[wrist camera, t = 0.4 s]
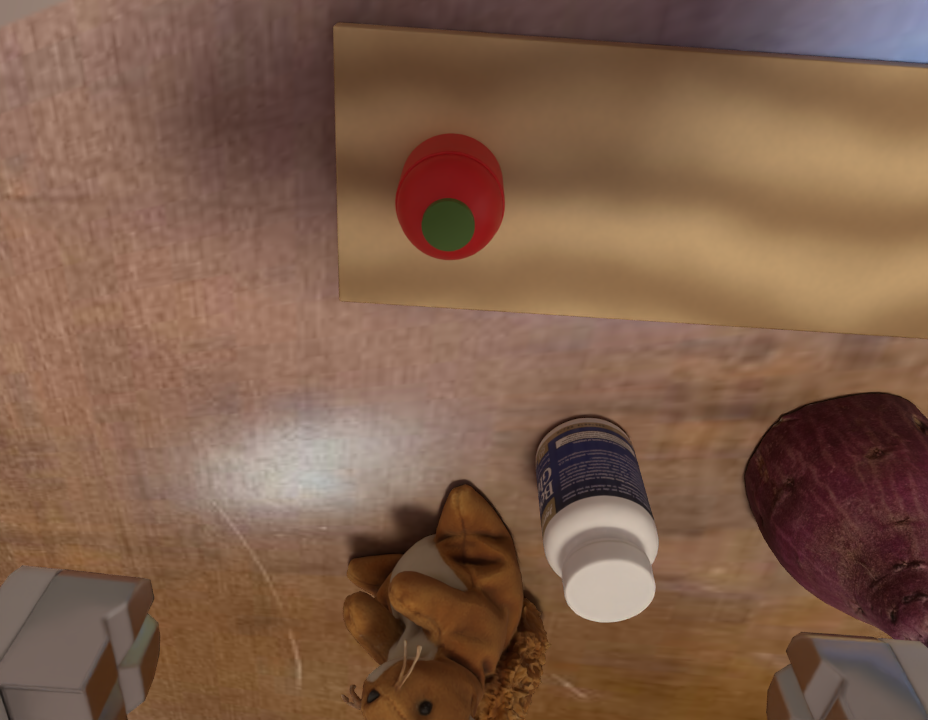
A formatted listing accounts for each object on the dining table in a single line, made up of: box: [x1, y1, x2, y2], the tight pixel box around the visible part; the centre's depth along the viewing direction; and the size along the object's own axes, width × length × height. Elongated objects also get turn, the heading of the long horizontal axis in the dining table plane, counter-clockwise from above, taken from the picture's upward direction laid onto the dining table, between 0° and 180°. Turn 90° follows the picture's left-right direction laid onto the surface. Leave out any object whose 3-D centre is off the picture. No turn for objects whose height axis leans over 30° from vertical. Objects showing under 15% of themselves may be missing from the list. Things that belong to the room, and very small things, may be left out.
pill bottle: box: [536, 418, 659, 622], centre depth 37 cm, size 5×5×10 cm
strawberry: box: [395, 133, 505, 260], centre depth 31 cm, size 4×4×5 cm
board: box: [333, 22, 928, 339], centre depth 34 cm, size 12×42×1 cm, turn 86°
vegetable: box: [745, 394, 928, 648], centre depth 36 cm, size 10×10×15 cm
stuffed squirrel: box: [341, 485, 551, 720], centre depth 41 cm, size 10×14×13 cm
